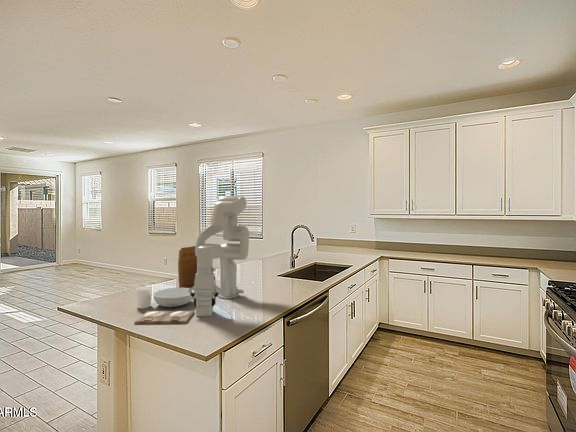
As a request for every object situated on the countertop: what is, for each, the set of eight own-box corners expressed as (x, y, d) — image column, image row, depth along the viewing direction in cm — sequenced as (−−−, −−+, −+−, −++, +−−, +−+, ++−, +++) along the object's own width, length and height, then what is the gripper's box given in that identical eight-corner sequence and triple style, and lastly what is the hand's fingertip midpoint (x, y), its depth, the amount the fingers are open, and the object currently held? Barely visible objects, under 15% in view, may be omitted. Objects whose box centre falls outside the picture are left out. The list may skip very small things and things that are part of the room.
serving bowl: (170, 313, 150) (170, 300, 150) (145, 306, 161) (145, 293, 161) (202, 303, 168) (202, 290, 168) (177, 297, 179) (177, 285, 179)
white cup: (155, 305, 163) (155, 286, 163) (143, 309, 156) (143, 290, 156) (143, 303, 166) (143, 285, 166) (132, 308, 158) (132, 289, 158)
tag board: (194, 313, 151) (194, 309, 151) (186, 323, 137) (186, 320, 137) (147, 313, 150) (147, 310, 150) (134, 324, 136) (134, 320, 136)
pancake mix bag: (207, 286, 203) (207, 245, 202) (179, 292, 190) (179, 247, 189) (202, 284, 208) (202, 244, 207) (175, 289, 194) (175, 246, 194)
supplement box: (198, 311, 154) (198, 286, 154) (213, 311, 154) (213, 286, 154) (195, 316, 146) (195, 290, 146) (211, 316, 147) (211, 290, 147)
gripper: (223, 269, 154) (223, 303, 154) (189, 269, 153) (189, 303, 154) (221, 272, 147) (221, 308, 147) (184, 272, 146) (184, 308, 146)
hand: (204, 305), depth 150 cm, fingers closed on supplement box, 7 cm apart
